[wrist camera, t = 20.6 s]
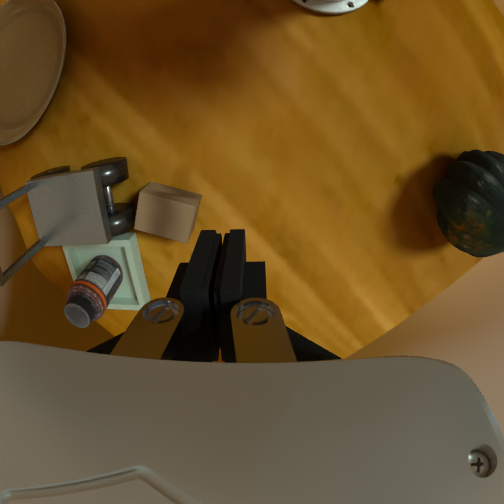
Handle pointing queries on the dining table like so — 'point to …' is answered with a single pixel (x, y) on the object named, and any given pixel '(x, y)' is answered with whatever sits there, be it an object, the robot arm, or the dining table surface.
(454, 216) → the squash
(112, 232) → the trolley
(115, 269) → the supplement bottle
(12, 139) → the plant saucer
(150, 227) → the block
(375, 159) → the dining table surface
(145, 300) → the tray
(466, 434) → the robot arm
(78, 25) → the dining table surface
